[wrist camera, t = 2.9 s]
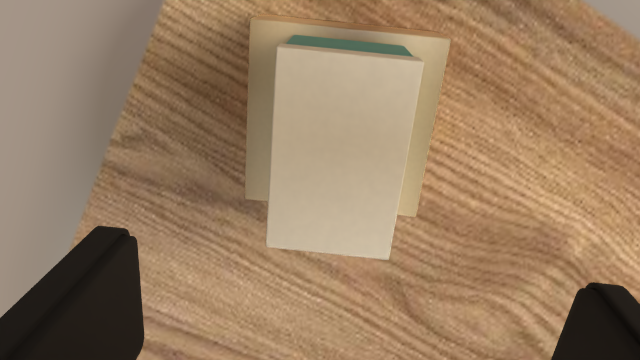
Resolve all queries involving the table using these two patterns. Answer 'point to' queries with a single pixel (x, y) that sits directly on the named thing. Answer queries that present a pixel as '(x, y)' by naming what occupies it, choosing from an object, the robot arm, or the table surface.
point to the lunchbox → (339, 144)
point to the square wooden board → (281, 28)
